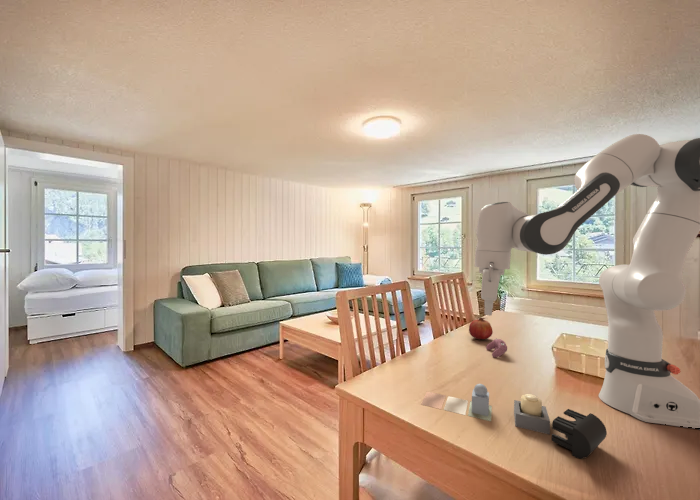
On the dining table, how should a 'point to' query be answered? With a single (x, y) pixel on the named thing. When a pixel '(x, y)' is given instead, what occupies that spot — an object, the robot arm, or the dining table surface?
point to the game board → (452, 405)
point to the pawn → (480, 400)
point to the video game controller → (497, 347)
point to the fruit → (480, 329)
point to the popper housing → (531, 419)
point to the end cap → (579, 433)
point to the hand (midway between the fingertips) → (488, 311)
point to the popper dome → (531, 405)
